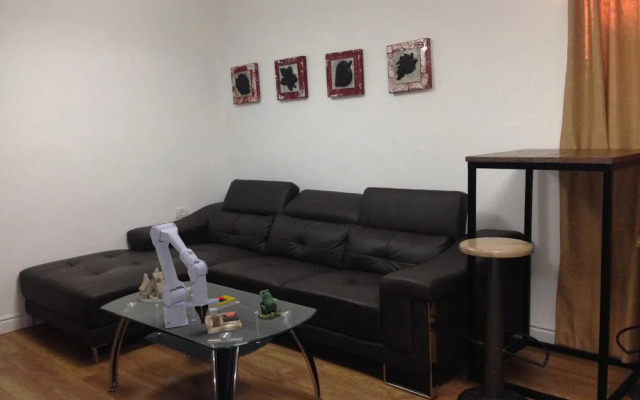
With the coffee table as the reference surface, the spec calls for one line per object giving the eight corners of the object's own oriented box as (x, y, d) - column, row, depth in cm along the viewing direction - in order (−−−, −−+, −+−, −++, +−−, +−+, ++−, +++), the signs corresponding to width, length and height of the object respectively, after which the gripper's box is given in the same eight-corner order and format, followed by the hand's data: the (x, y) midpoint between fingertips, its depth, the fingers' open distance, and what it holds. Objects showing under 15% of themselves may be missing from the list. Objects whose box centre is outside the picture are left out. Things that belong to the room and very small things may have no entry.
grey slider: (210, 318, 236) (210, 310, 235) (210, 316, 239) (209, 308, 238) (217, 317, 237) (217, 309, 236) (216, 315, 240) (216, 307, 239)
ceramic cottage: (136, 297, 278) (134, 269, 275) (169, 292, 286) (167, 264, 283) (142, 307, 264) (140, 278, 262) (176, 302, 272) (175, 273, 269)
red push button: (226, 320, 232) (225, 315, 232) (225, 317, 236) (224, 312, 236) (235, 318, 234) (235, 314, 233) (234, 315, 237) (233, 311, 237)
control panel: (208, 334, 223) (207, 327, 223) (204, 319, 240) (203, 313, 240) (242, 328, 227) (241, 321, 227) (235, 314, 244) (235, 308, 244)
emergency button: (202, 299, 256) (228, 291, 266) (203, 308, 256) (229, 299, 267) (214, 303, 249) (240, 294, 260) (215, 312, 250) (241, 303, 261)
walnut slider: (213, 326, 226) (212, 318, 226) (212, 324, 229) (211, 316, 228) (220, 325, 227) (219, 317, 226) (219, 323, 230) (219, 315, 229)
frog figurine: (274, 305, 254) (272, 281, 252) (298, 314, 241) (296, 289, 239) (241, 316, 243) (239, 290, 241) (265, 325, 229) (263, 299, 228)
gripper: (182, 296, 218) (185, 329, 220) (218, 291, 222) (221, 323, 224) (181, 291, 225) (184, 323, 227) (216, 286, 229) (219, 317, 231)
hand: (202, 322), depth 226 cm, fingers closed
